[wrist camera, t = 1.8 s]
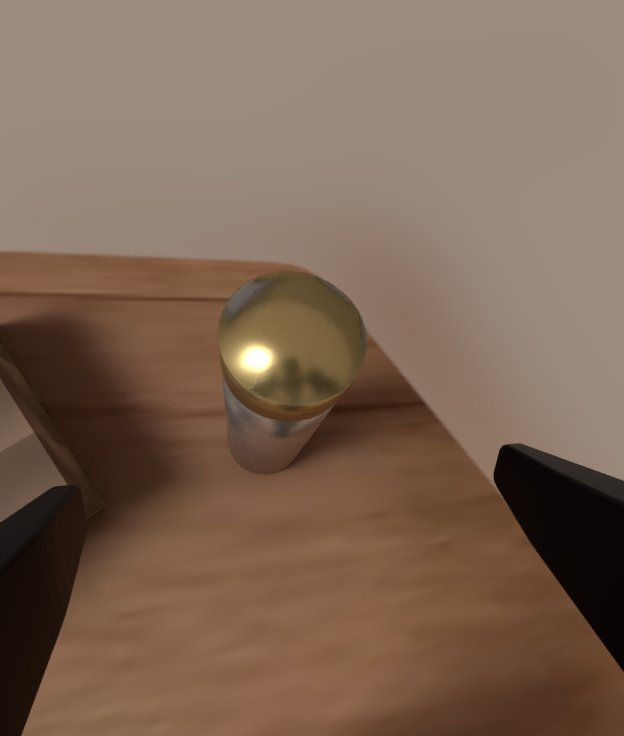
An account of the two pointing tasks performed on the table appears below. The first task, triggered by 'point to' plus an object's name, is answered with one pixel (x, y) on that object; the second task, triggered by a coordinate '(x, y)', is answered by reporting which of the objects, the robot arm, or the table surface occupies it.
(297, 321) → the steel pin
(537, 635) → the table surface
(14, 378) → the block
